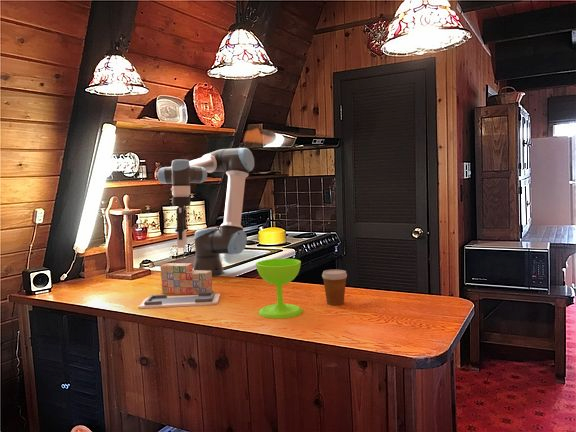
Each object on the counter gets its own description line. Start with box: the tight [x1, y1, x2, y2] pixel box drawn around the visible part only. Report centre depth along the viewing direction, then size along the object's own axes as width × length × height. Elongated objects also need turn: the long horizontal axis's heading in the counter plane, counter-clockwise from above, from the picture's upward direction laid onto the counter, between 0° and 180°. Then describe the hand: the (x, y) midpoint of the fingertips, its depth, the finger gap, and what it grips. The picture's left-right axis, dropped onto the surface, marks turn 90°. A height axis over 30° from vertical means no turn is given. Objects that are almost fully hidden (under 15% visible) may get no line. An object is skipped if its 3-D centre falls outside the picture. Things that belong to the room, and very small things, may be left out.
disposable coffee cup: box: [321, 269, 348, 306], centre depth 187 cm, size 10×10×12 cm
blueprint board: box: [137, 291, 221, 309], centre depth 198 cm, size 14×30×2 cm, turn 93°
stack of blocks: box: [160, 262, 214, 295], centre depth 214 cm, size 21×6×12 cm, turn 72°
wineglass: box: [255, 258, 304, 320], centre depth 178 cm, size 16×16×18 cm
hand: (182, 246), depth 212 cm, fingers open, 13 cm apart
